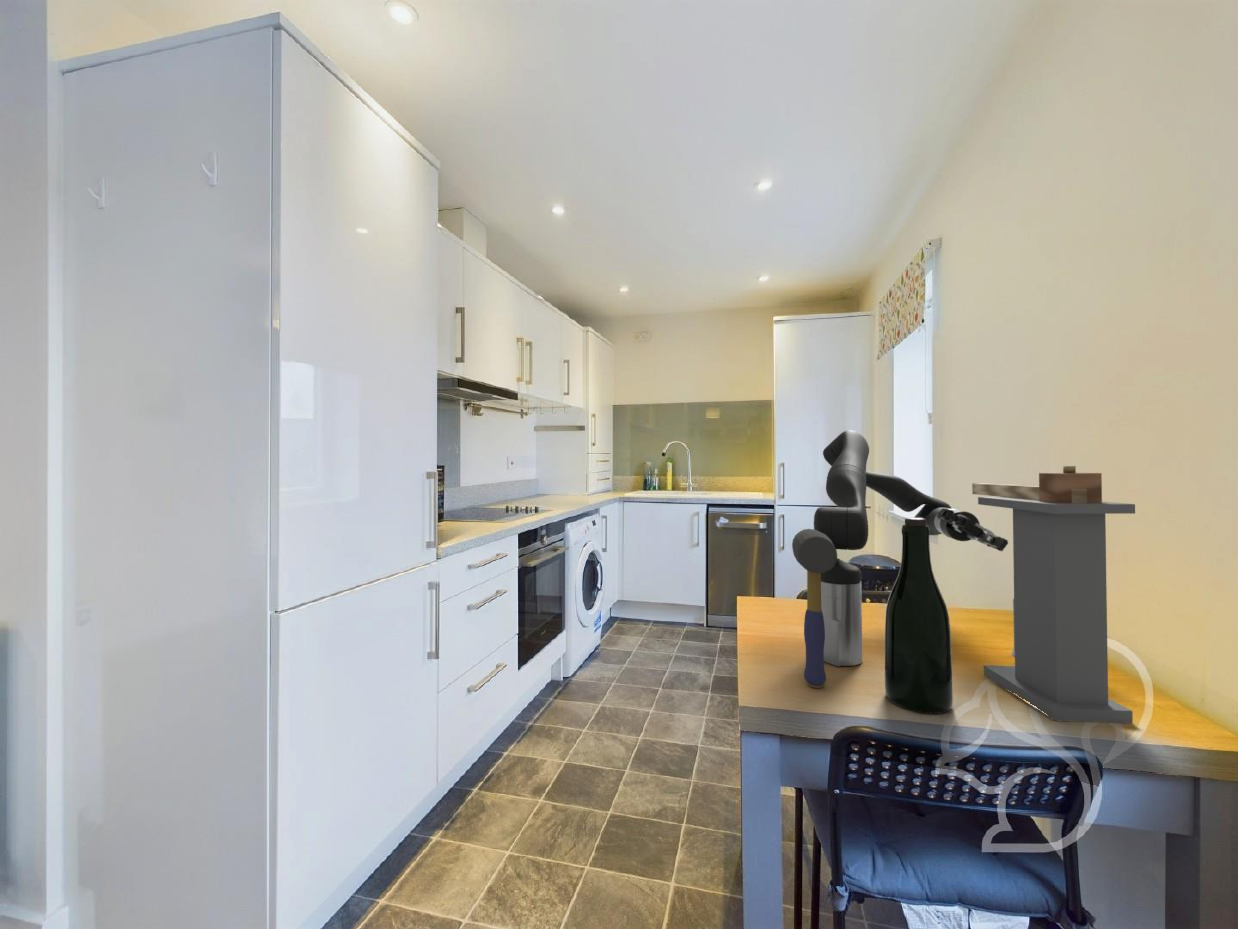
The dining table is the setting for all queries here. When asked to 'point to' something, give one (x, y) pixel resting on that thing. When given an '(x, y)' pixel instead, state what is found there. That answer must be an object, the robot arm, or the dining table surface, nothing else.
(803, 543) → the rubber mallet
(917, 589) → the dark green wine bottle
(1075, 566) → the plinth
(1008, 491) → the marking gauge
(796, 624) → the dining table surface
